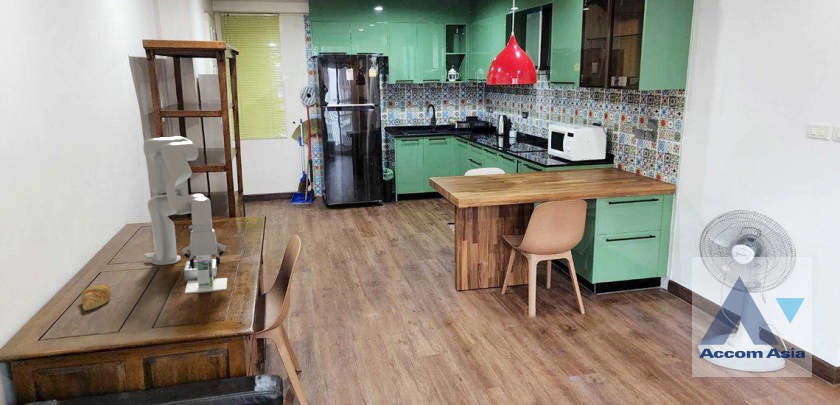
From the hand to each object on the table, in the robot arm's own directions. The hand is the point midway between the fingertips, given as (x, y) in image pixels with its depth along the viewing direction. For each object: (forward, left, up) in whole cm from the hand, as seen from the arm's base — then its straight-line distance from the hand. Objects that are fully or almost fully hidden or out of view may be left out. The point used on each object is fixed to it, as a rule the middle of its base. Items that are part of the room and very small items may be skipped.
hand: (205, 266), depth 233 cm
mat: (0, 0, -9) cm, 9 cm away
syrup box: (0, 0, -8) cm, 8 cm away
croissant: (-40, -6, -9) cm, 42 cm away
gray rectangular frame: (-3, +18, -9) cm, 20 cm away
